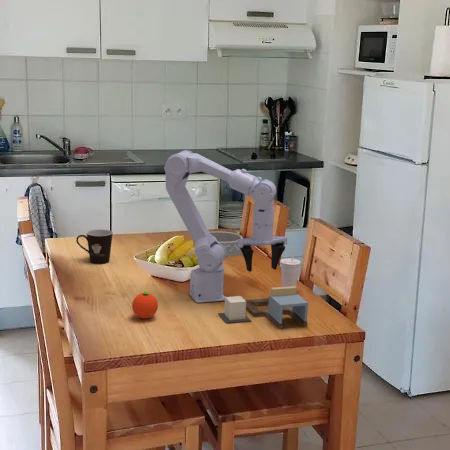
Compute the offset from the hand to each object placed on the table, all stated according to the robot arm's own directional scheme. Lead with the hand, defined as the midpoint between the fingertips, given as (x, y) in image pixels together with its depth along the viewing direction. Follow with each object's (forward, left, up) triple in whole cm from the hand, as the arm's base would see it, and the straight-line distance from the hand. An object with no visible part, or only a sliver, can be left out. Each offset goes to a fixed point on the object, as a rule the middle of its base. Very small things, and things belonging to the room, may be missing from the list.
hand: (261, 269), depth 202 cm
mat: (-11, -9, -10) cm, 17 cm away
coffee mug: (-39, +51, -11) cm, 65 cm away
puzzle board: (+2, -9, -10) cm, 14 cm away
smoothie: (+13, +8, -11) cm, 19 cm away
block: (-11, -9, -10) cm, 17 cm away
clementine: (-34, -3, -11) cm, 36 cm away
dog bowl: (+7, +56, -11) cm, 58 cm away
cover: (+2, -15, -9) cm, 17 cm away
